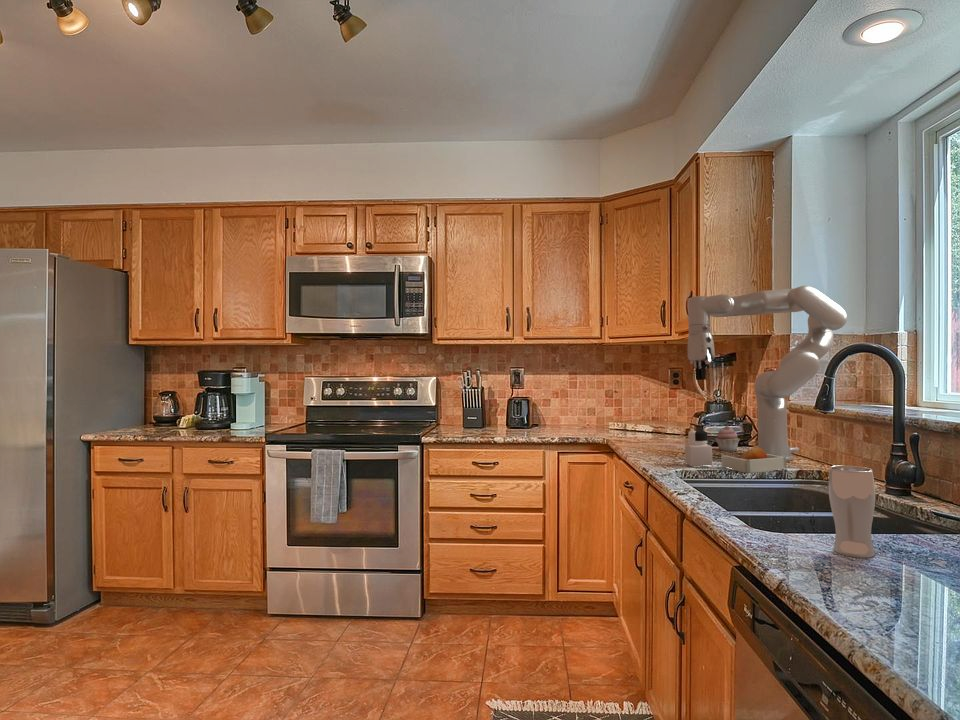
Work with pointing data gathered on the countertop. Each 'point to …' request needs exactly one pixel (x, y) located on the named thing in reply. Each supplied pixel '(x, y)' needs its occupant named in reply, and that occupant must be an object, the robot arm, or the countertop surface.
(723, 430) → the cupcake
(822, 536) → the countertop surface
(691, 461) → the medicine bottle
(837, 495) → the beer glass
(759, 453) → the fruit
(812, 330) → the robot arm
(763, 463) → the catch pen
